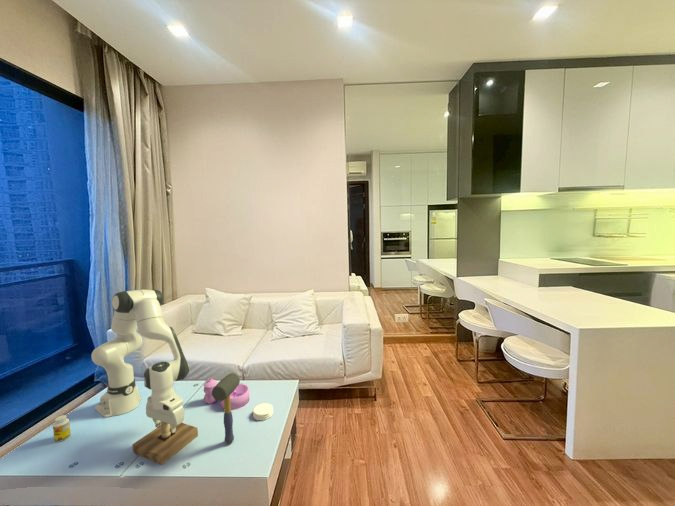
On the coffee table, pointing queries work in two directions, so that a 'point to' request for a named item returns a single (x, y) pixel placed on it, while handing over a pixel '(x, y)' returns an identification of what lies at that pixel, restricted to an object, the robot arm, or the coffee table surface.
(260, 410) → the cream round disc
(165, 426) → the maple dowel
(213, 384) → the container set
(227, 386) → the rubber mallet
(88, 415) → the coffee table surface
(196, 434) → the walnut board
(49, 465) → the coffee table surface
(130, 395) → the robot arm
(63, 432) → the supplement bottle
